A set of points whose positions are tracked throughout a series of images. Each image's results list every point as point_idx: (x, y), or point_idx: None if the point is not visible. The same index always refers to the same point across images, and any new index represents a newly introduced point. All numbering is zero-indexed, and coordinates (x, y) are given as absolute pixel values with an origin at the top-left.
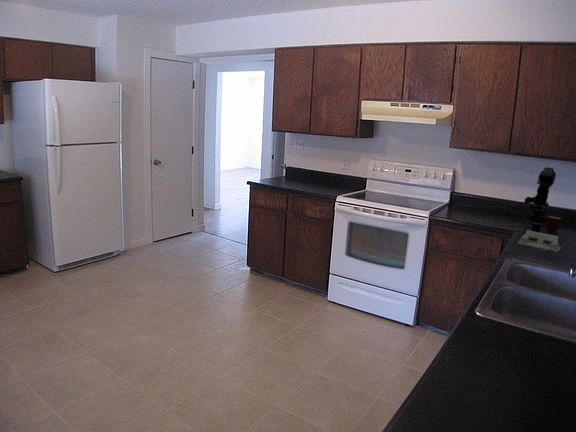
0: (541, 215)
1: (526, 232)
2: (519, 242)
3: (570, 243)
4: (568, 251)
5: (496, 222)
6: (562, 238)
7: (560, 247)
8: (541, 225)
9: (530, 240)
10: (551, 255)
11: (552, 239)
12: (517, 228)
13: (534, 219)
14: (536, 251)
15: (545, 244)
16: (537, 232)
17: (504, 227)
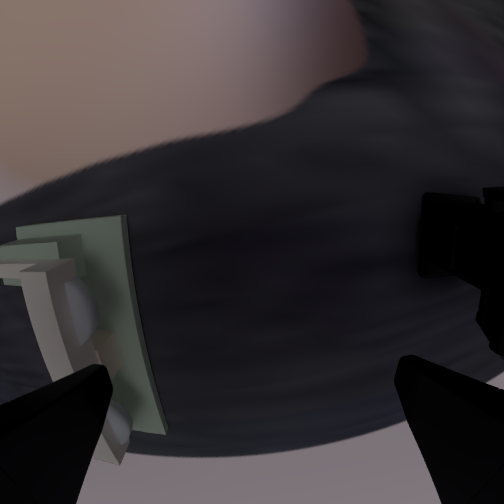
0: (419, 443)
1: (29, 269)
2: (18, 237)
3: (374, 428)
4: (162, 449)
5: (489, 17)
6: (460, 370)
7: (158, 433)
8: (482, 301)
9: (125, 280)
10: (20, 385)
11: None
12: (494, 115)
13: (78, 376)
14: (3, 333)
15: (128, 373)
16: (62, 358)
17: (441, 37)
